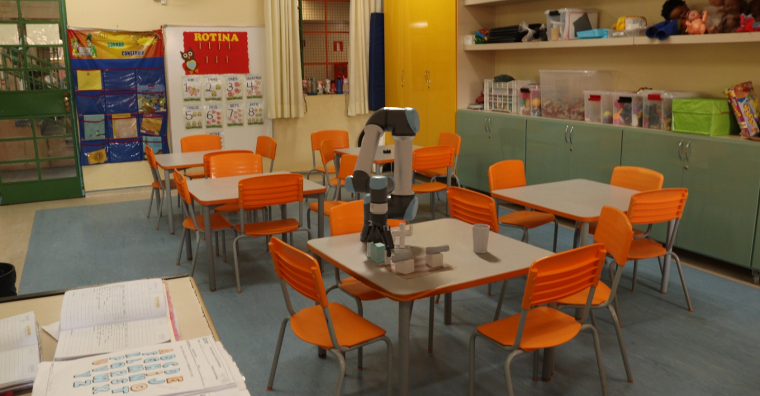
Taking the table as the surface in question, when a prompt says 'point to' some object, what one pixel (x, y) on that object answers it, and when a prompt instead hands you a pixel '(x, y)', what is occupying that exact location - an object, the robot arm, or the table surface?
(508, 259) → the table surface
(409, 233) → the figurine
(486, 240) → the cup
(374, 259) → the block
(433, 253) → the shaft
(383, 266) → the brown flat board
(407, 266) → the shaft
